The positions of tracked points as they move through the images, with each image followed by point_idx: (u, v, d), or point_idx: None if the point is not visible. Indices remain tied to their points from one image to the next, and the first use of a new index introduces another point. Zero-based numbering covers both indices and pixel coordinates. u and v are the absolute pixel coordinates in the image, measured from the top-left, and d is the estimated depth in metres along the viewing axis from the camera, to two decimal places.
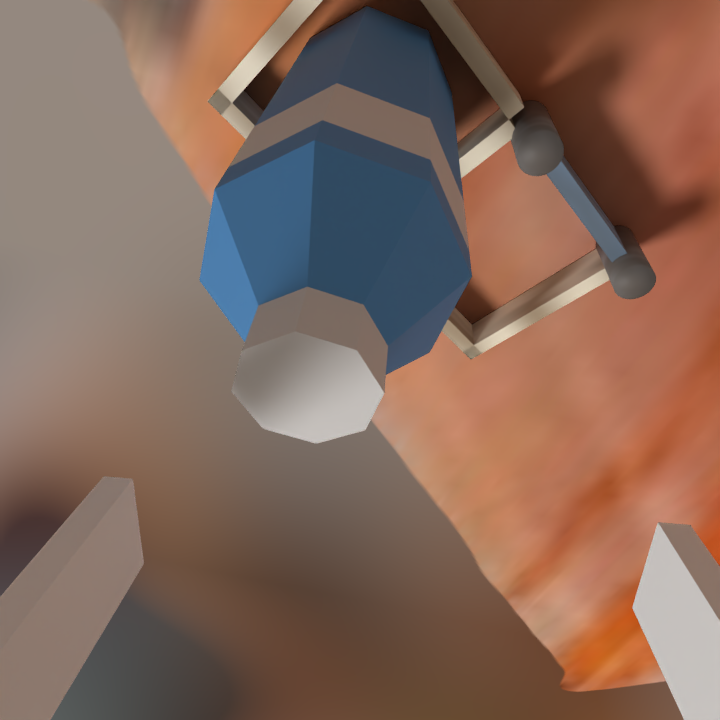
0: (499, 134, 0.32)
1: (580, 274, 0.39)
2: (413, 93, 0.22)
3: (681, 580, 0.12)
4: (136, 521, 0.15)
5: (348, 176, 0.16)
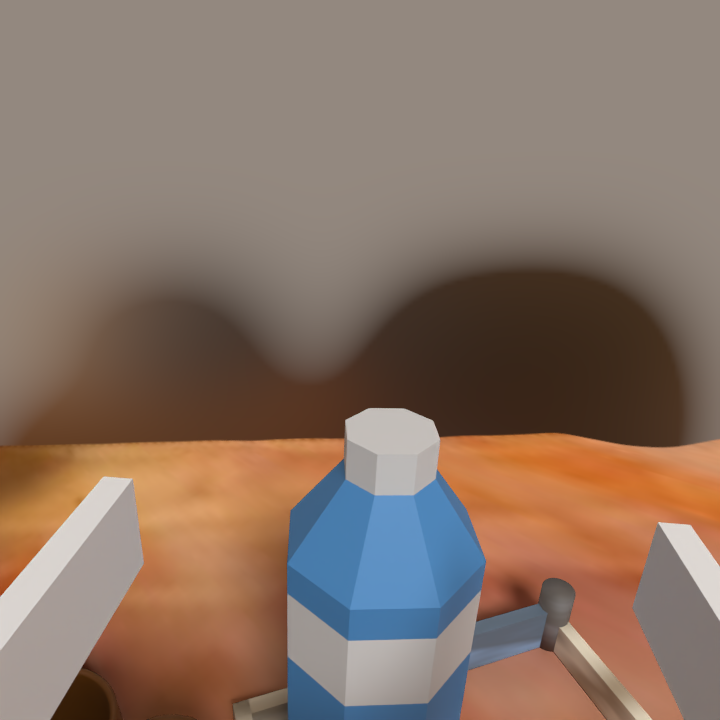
0: None
1: (571, 652, 0.42)
2: None
3: (681, 580, 0.12)
4: (136, 521, 0.15)
5: None
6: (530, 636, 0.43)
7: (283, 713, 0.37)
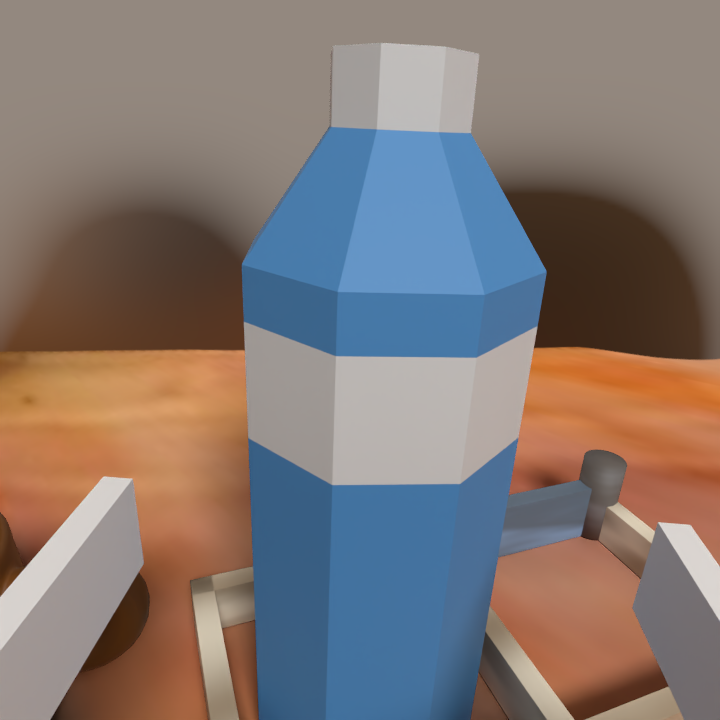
0: None
1: (623, 534, 0.33)
2: None
3: (681, 580, 0.12)
4: (136, 521, 0.15)
5: None
6: (570, 519, 0.35)
7: None
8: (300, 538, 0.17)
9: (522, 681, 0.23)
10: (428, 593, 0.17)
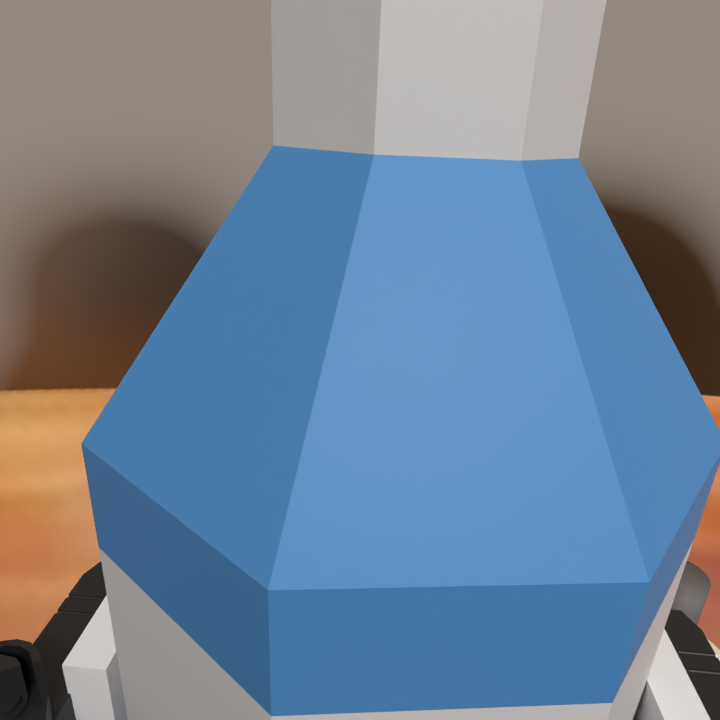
0: None
1: None
2: None
3: None
4: None
5: None
6: None
7: None
8: None
9: None
10: None
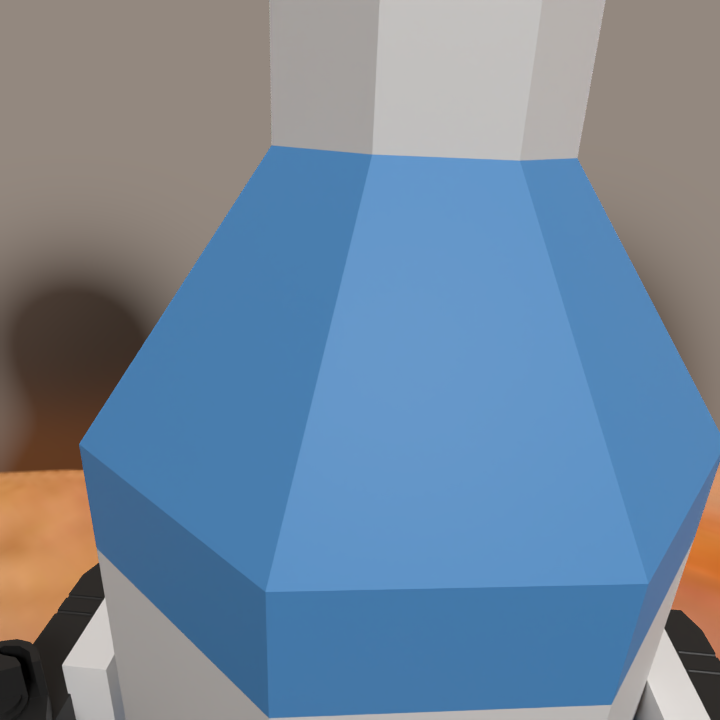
0: None
1: None
2: None
3: None
4: None
5: None
6: None
7: None
8: None
9: None
10: None
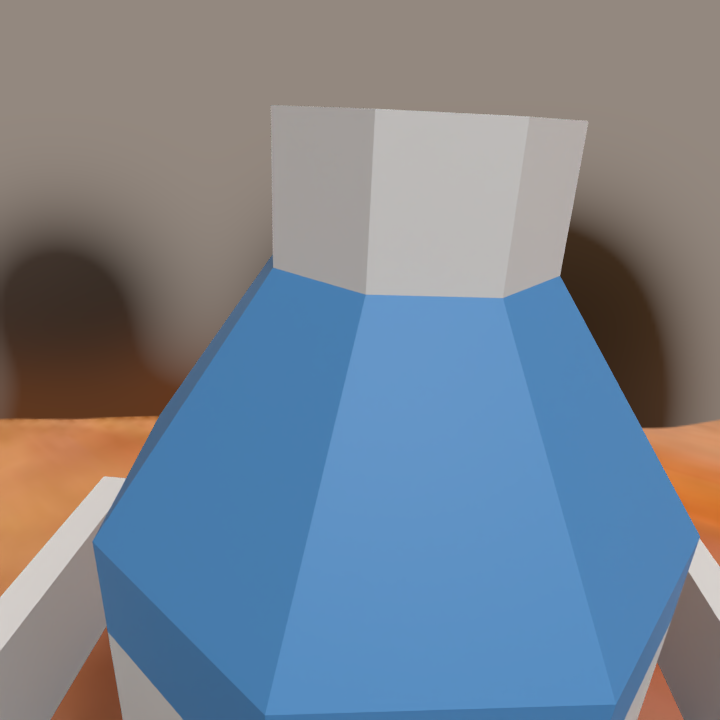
0: None
1: None
2: None
3: None
4: None
5: None
6: None
7: None
8: None
9: None
10: None
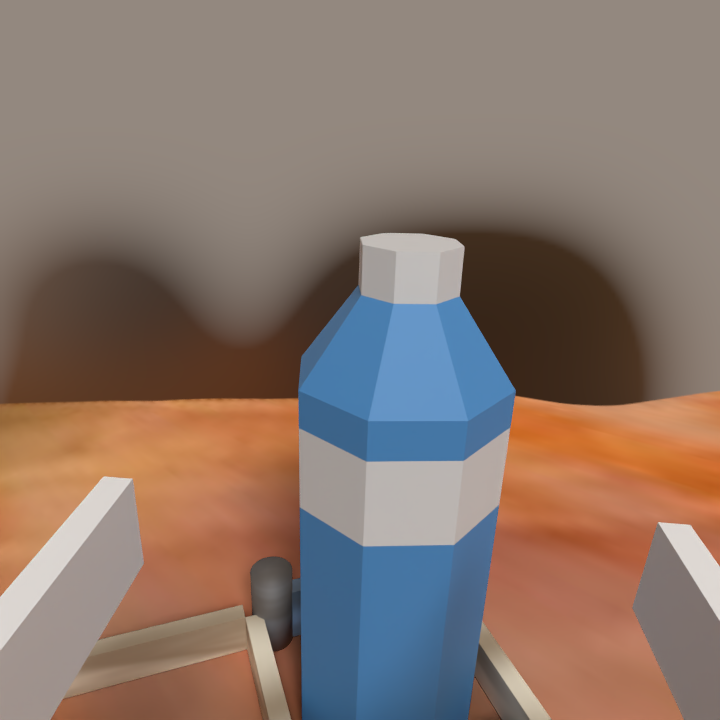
0: (253, 626, 0.33)
1: None
2: None
3: (681, 580, 0.12)
4: (136, 521, 0.15)
5: None
6: None
7: None
8: (338, 581, 0.24)
9: None
10: (432, 621, 0.24)
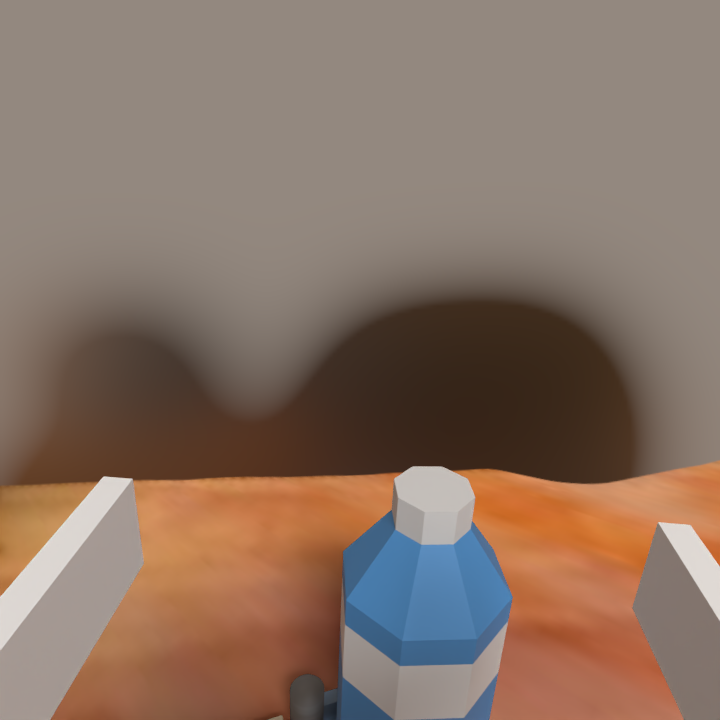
0: None
1: None
2: None
3: (681, 580, 0.12)
4: (136, 521, 0.15)
5: None
6: None
7: None
8: None
9: None
10: None
